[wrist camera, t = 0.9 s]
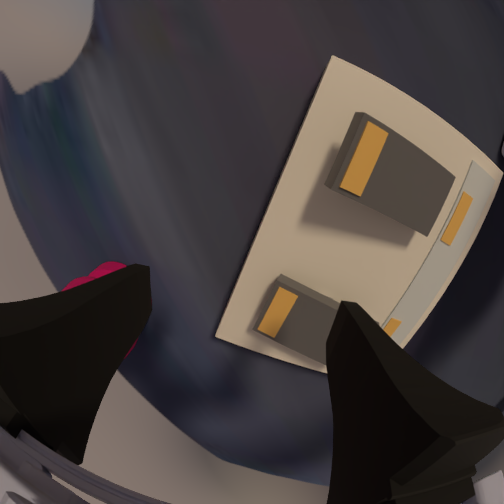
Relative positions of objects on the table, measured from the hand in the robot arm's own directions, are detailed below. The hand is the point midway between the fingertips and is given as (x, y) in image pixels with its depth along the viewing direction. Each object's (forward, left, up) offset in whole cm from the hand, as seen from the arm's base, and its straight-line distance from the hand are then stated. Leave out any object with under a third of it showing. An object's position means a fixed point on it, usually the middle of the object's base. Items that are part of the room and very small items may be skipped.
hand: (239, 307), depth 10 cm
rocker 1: (-5, +3, -6) cm, 8 cm away
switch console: (-7, -2, -10) cm, 12 cm away
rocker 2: (-5, -7, -6) cm, 10 cm away
